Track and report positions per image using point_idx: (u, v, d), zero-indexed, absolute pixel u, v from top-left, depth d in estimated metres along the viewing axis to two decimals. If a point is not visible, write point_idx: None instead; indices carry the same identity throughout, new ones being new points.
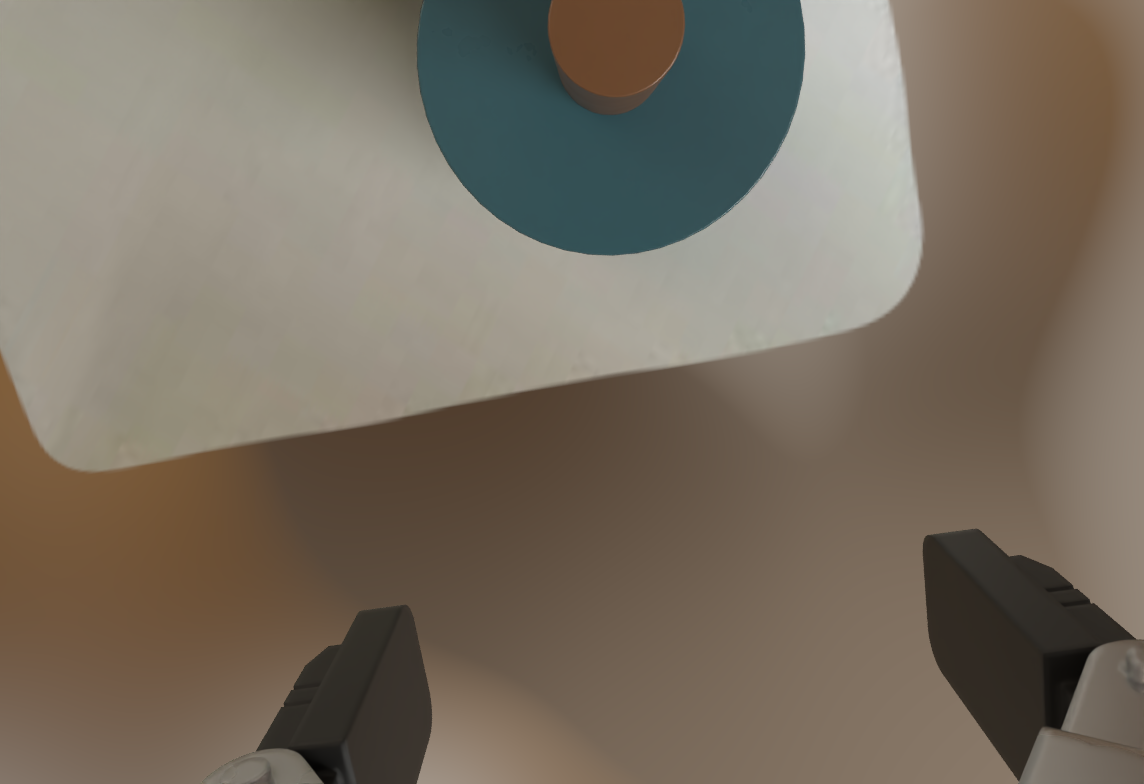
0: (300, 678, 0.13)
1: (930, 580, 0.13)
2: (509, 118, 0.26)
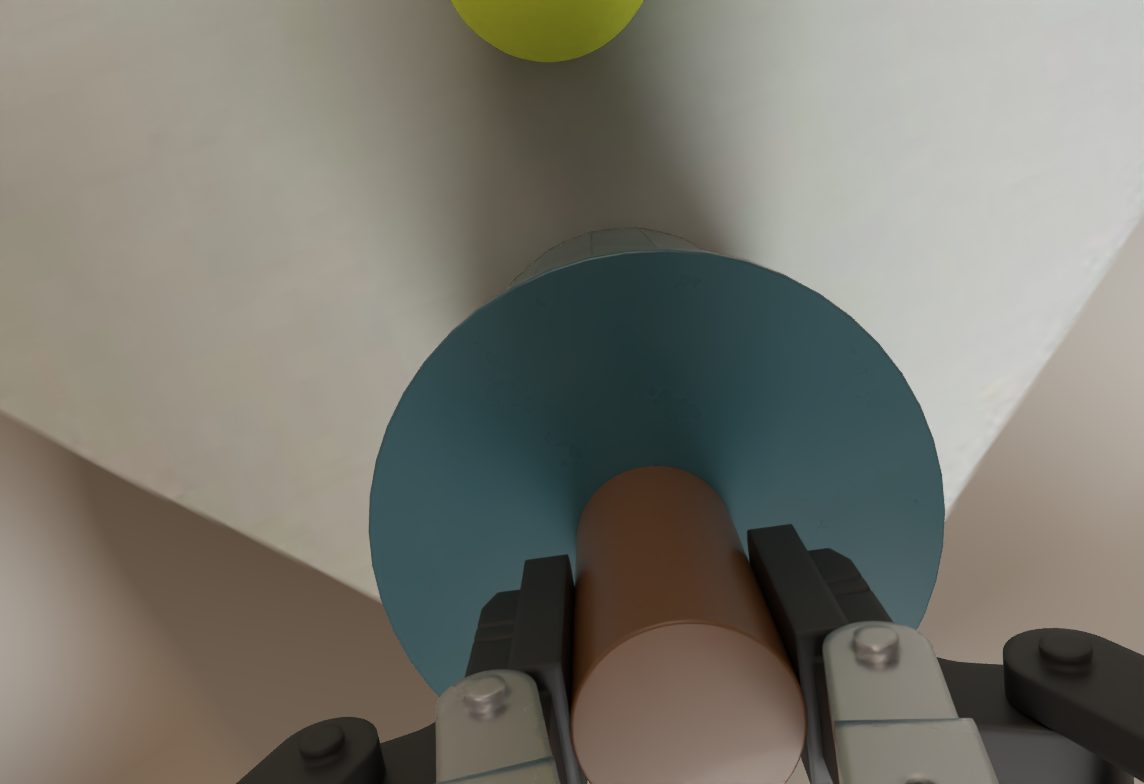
0: (481, 619, 0.13)
1: None
2: (485, 507, 0.17)
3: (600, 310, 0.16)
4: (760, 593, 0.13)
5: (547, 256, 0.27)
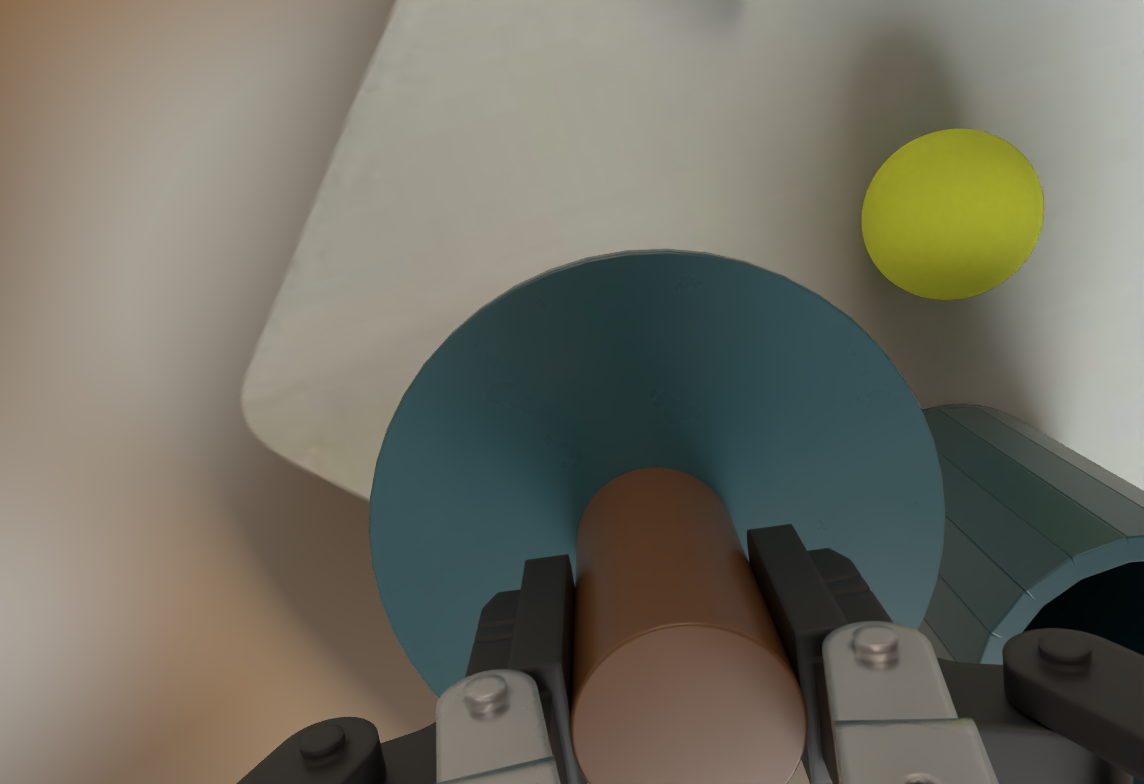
0: (481, 619, 0.13)
1: None
2: (485, 508, 0.17)
3: (600, 312, 0.16)
4: (760, 595, 0.13)
5: None
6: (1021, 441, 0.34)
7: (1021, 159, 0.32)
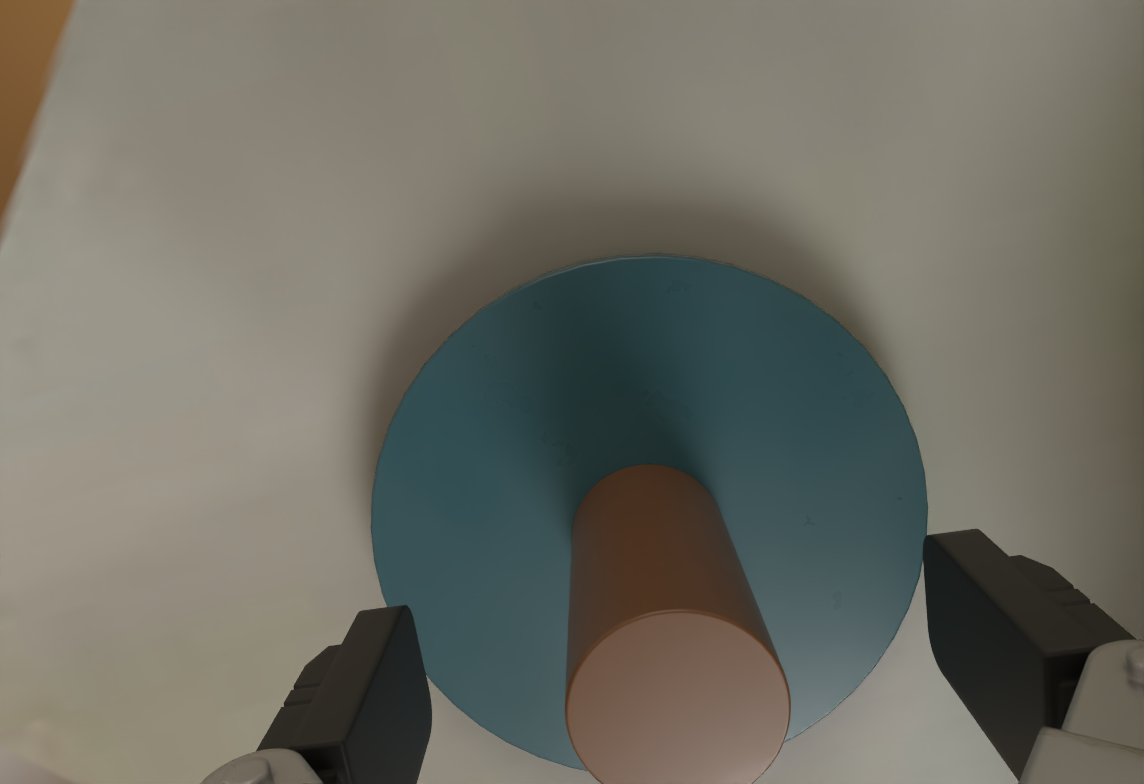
0: (300, 678, 0.13)
1: (930, 580, 0.13)
2: (484, 504, 0.18)
3: (595, 314, 0.17)
4: (747, 585, 0.14)
5: None
6: None
7: None
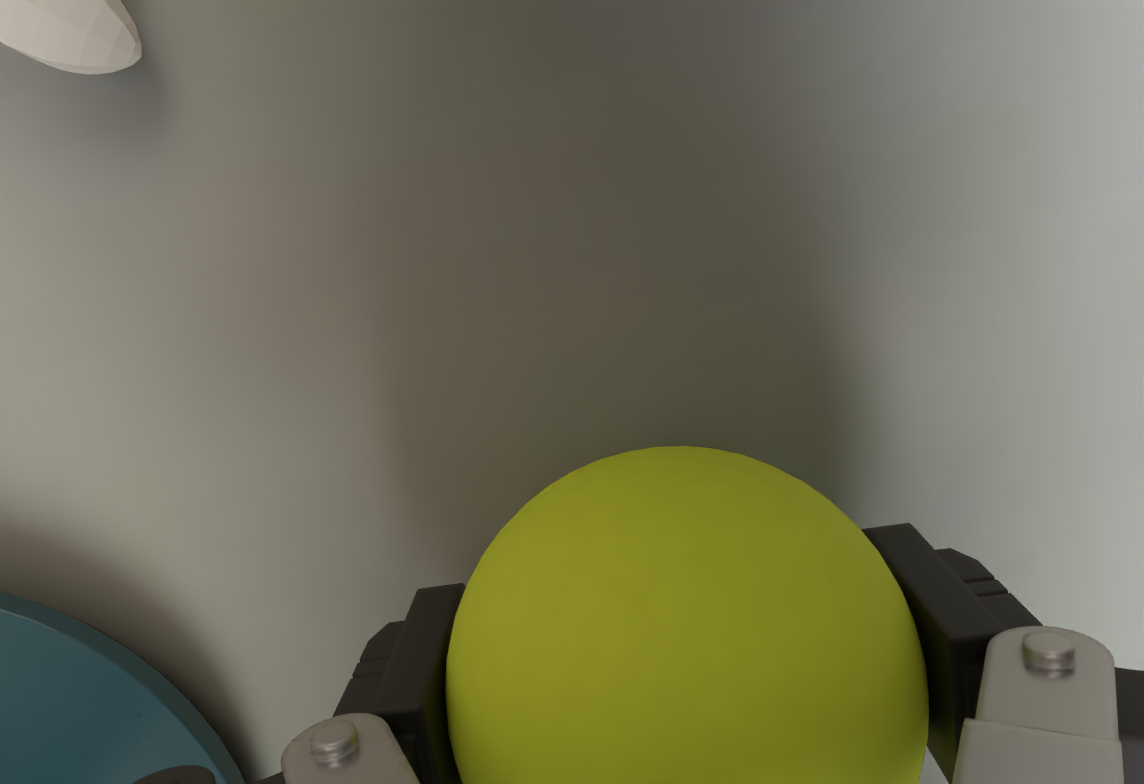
0: (365, 652, 0.13)
1: None
2: None
3: None
4: None
5: None
6: None
7: (846, 602, 0.10)
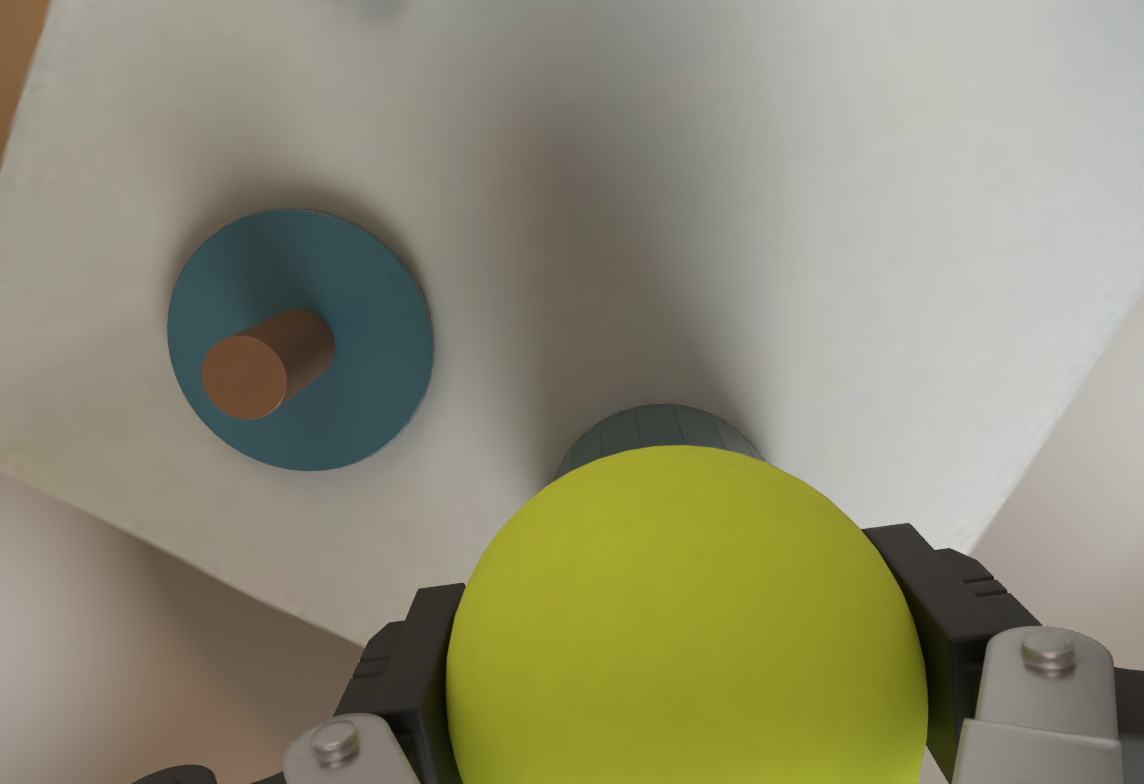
0: (365, 652, 0.13)
1: None
2: (220, 330, 0.37)
3: (263, 237, 0.36)
4: (297, 343, 0.33)
5: (604, 444, 0.35)
6: (673, 443, 0.33)
7: (846, 602, 0.10)
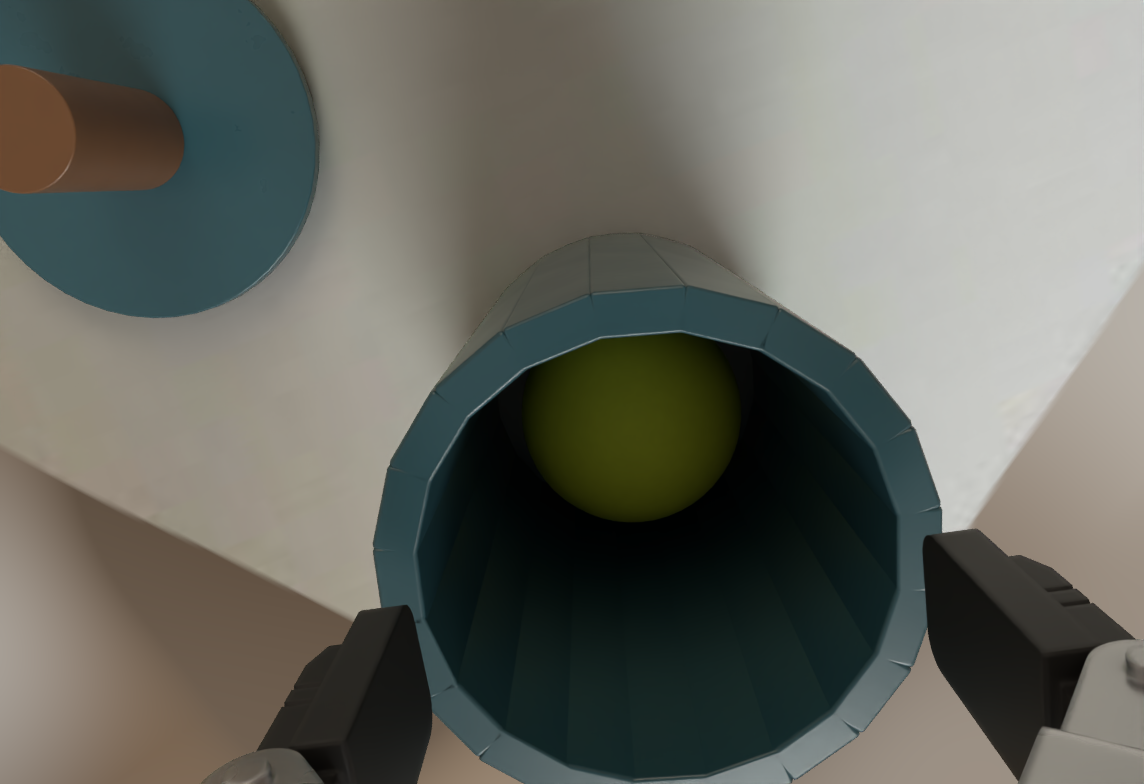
0: (300, 678, 0.13)
1: (929, 580, 0.13)
2: None
3: None
4: (107, 101, 0.23)
5: (541, 263, 0.25)
6: (634, 245, 0.23)
7: (696, 355, 0.24)
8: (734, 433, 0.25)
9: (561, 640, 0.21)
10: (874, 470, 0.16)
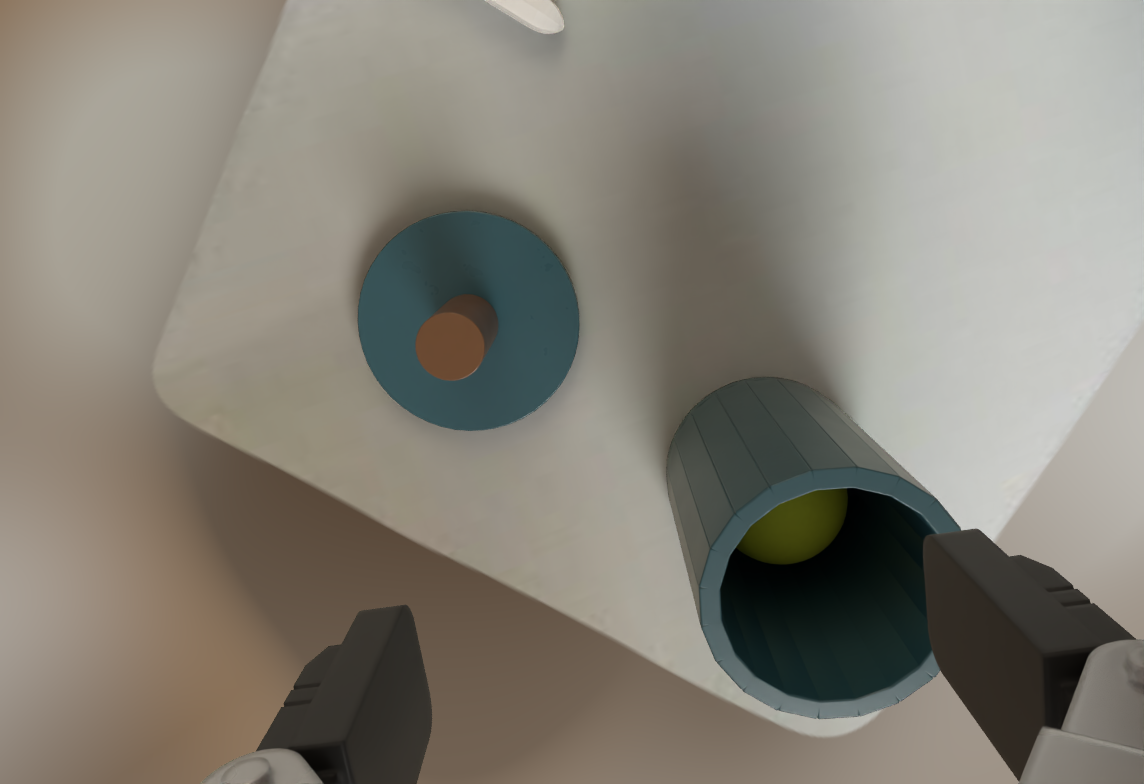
0: (300, 678, 0.13)
1: (930, 580, 0.13)
2: (402, 311, 0.44)
3: (443, 233, 0.43)
4: (484, 320, 0.40)
5: (726, 406, 0.42)
6: (790, 404, 0.40)
7: None
8: (845, 513, 0.42)
9: (759, 632, 0.38)
10: None
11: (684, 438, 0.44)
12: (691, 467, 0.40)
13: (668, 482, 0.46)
